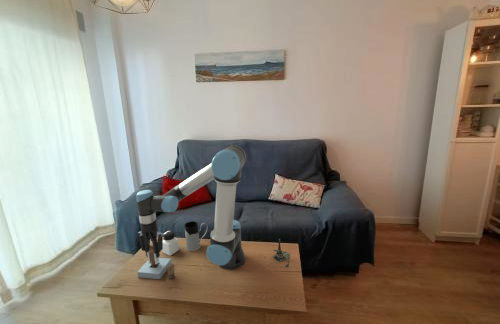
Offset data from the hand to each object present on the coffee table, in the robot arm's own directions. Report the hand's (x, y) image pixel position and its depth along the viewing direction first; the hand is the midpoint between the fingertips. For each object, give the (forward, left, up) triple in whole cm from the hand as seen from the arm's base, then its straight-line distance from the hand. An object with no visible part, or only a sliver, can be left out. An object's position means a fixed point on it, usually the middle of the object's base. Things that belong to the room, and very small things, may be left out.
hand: (154, 262), depth 123 cm
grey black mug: (-14, -24, -5) cm, 28 cm away
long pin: (0, 0, -5) cm, 5 cm away
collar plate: (0, 0, -5) cm, 5 cm away
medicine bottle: (0, -17, -5) cm, 18 cm away
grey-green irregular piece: (-64, -17, -5) cm, 67 cm away
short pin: (-11, +4, -5) cm, 13 cm away
